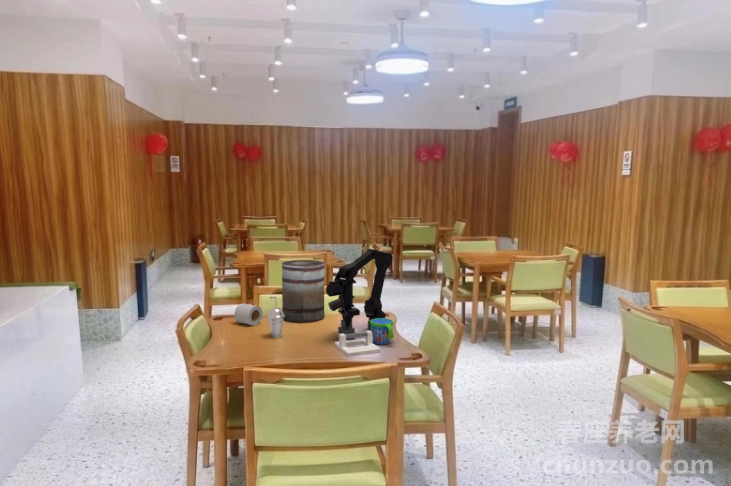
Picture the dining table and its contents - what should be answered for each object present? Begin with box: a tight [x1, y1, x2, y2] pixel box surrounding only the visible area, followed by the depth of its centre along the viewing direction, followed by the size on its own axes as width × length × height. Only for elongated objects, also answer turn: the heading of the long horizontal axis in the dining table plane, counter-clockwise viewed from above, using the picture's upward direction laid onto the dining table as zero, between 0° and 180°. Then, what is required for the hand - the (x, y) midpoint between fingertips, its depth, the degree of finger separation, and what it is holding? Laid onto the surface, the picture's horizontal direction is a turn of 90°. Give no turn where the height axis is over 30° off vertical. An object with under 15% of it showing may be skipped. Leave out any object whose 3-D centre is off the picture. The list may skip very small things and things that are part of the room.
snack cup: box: [370, 317, 394, 345], centre depth 225 cm, size 16×10×10 cm
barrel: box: [281, 259, 325, 324], centre depth 266 cm, size 22×22×30 cm
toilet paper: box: [233, 303, 263, 327], centre depth 254 cm, size 10×10×10 cm
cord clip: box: [337, 319, 356, 340], centre depth 231 cm, size 6×6×8 cm
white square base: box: [334, 330, 382, 357], centre depth 216 cm, size 15×16×6 cm
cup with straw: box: [266, 296, 285, 339], centre depth 232 cm, size 8×9×20 cm
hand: (346, 326), depth 230 cm, fingers closed on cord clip
